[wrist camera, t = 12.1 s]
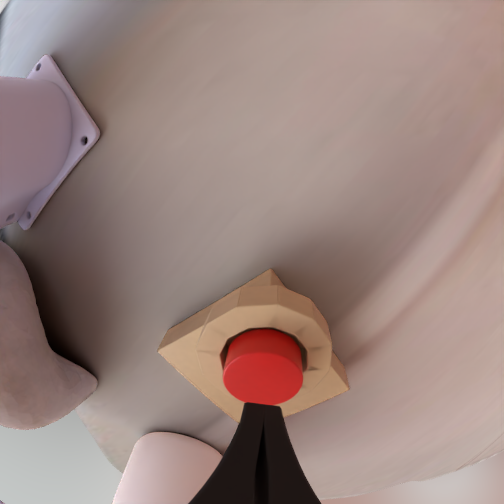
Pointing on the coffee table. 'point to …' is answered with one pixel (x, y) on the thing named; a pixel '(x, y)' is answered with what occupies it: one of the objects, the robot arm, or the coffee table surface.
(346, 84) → the coffee table surface
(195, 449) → the wine bottle
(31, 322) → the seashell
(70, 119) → the robot arm
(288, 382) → the button
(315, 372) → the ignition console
